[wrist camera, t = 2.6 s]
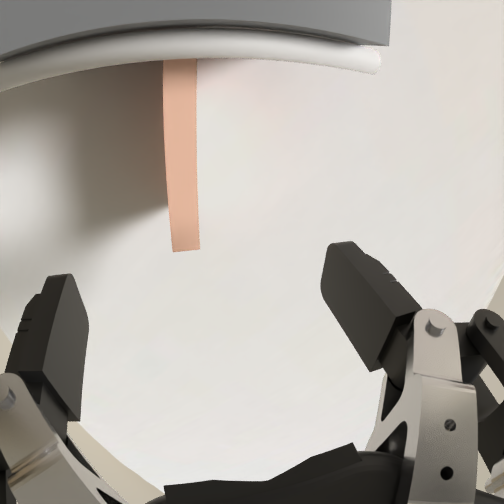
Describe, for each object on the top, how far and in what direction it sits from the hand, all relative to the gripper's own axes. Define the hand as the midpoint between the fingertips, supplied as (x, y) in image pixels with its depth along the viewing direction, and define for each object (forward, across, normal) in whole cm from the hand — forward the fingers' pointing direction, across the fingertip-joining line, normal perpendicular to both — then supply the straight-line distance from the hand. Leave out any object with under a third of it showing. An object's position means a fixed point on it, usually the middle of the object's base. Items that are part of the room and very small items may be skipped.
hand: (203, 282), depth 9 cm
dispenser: (+10, 0, -16) cm, 18 cm away
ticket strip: (+9, 0, -10) cm, 14 cm away
